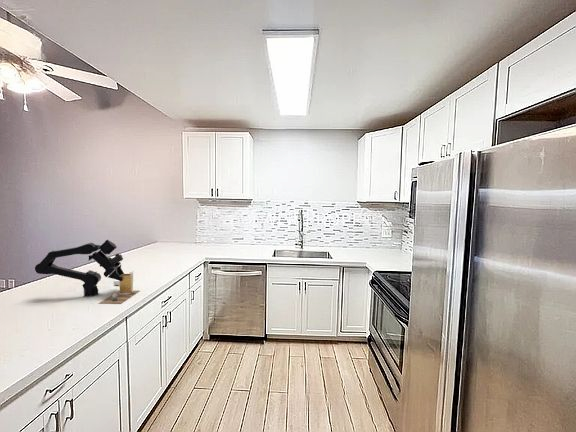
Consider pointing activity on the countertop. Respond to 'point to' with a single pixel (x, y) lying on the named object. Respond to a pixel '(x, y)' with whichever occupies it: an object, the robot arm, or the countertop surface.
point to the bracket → (117, 282)
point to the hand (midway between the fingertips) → (123, 278)
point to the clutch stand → (118, 298)
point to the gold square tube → (126, 283)
